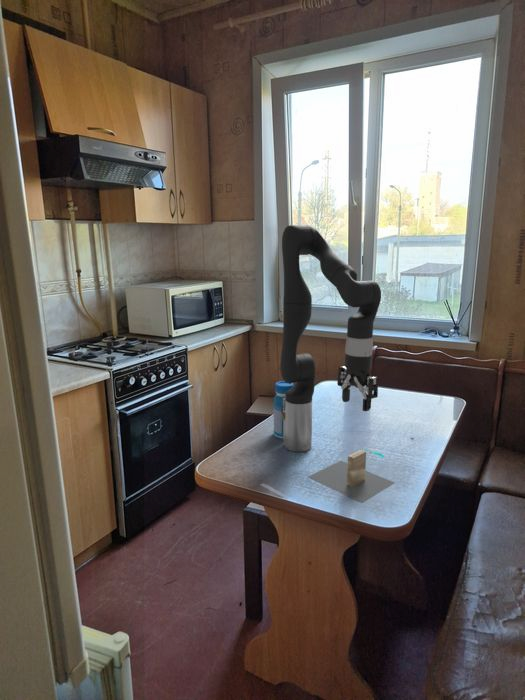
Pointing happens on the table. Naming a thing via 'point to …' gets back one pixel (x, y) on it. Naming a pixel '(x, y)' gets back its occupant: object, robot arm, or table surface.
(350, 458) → the maple picture frame
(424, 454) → the table surface
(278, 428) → the beverage bottle
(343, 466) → the rubber mat
